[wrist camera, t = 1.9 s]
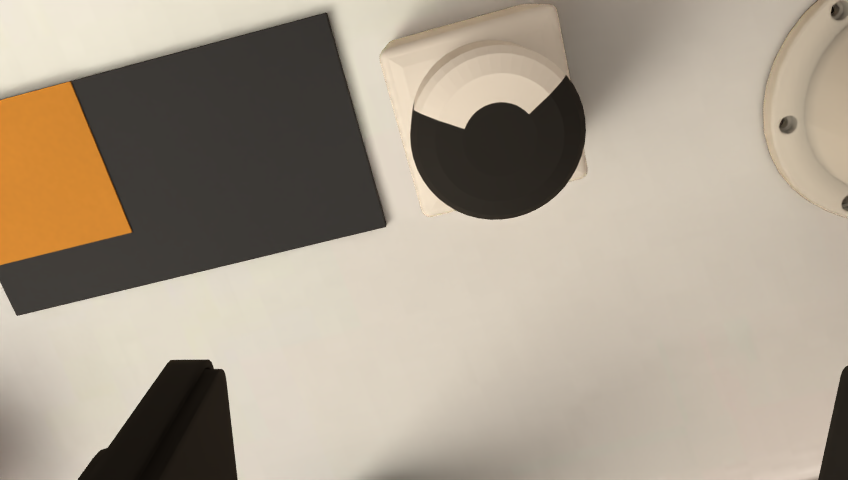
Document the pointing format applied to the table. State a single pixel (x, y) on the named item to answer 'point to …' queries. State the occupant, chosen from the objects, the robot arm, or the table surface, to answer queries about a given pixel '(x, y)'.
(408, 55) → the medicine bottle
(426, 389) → the table surface
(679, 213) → the table surface
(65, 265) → the desk mat
